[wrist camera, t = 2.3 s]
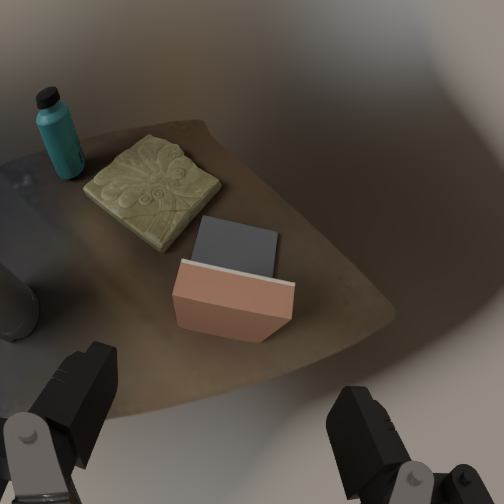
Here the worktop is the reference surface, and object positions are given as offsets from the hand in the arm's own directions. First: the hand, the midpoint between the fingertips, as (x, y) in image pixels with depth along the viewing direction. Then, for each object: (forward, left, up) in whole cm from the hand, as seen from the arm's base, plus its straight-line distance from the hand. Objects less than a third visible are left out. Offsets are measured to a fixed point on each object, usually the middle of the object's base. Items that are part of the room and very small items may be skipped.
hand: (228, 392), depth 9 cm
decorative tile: (+20, +29, -33) cm, 48 cm away
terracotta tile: (+10, +4, -33) cm, 34 cm away
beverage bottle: (+11, +45, -33) cm, 57 cm away
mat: (+18, +9, -33) cm, 38 cm away
